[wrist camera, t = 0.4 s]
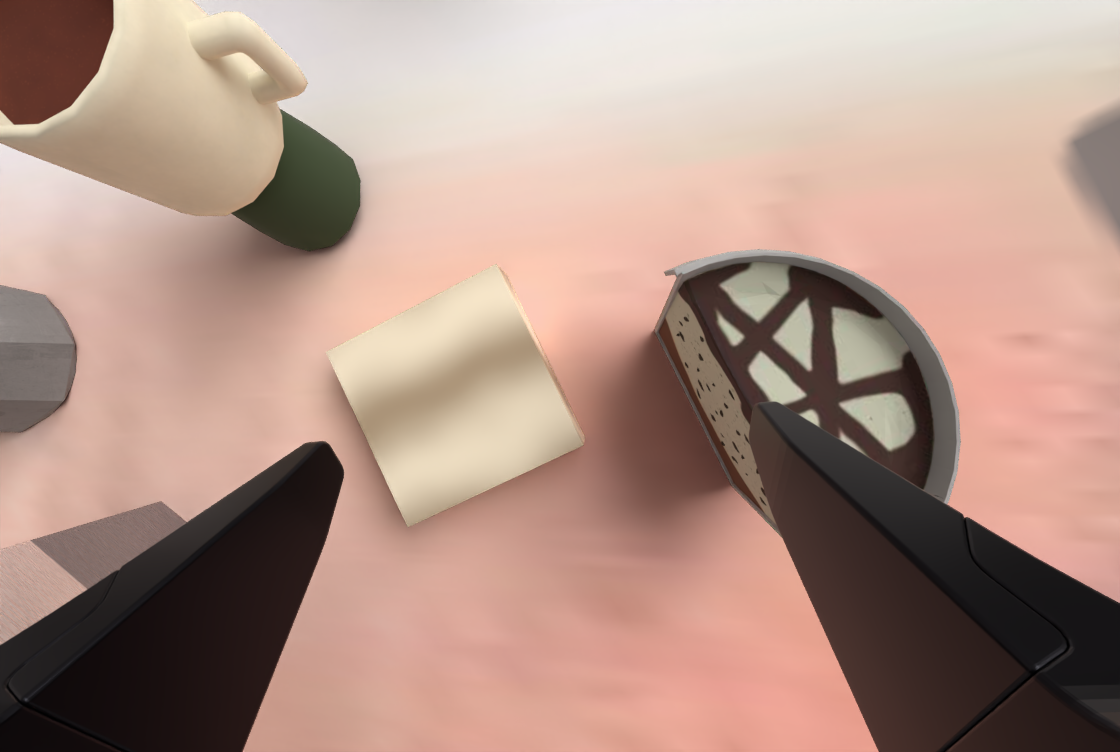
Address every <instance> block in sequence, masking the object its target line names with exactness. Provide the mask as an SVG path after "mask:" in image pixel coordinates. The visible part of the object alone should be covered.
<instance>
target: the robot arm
mask: <svg viewBox="0 0 1120 752" xmlns="http://www.w3.org/2000/svg"><path fill="white" fill-rule="evenodd" d="M749 443H750V447H751V450H752V453H753V456H754V460H755V463H756V466H757V469H758V472H759V475H760V479H761V482H762V485H763V488H764V491H765V494H766V498H767V501H768V504H769V507H770V510H771V513H772V515H773V517H774V520H775V522H776V525H777V527H778V529H779V531H780V534H781V536H782V538H783V540H784V542H785V545H786V547H787V549H788V551H789V554H790V556H791V558H792V560H793V562H794V565H795V567H796V569H797V571H798V574H799V576H800V578H801V580H802V582H803V585H804V587H805V589H806V591H807V593H808V596H809V598H810V600H811V602H812V605H813V607H814V609H815V611H816V613H817V616H818V618H819V620H820V622H821V625H822V627H823V629H824V631H825V633H826V636H827V638H828V640H829V642H830V645H831V647H832V649H833V651H834V653H835V656H836V658H837V660H838V662H839V665H840V667H841V669H842V671H843V673H844V676H845V678H846V680H847V682H848V684H849V687H850V689H851V691H852V693H853V696H854V698H855V700H856V702H857V704H858V707H859V709H860V711H861V713H862V716H863V718H864V720H865V722H866V724H867V727H868V729H869V731H870V733H871V736H872V738H873V740H874V742H875V744H876V747H877V749H878V751H879V752H1120V603H1118V602H1116V601H1115V600H1113V599H1111V598H1109V597H1107V596H1105V595H1103V594H1101V593H1100V592H1098V591H1096V590H1094V589H1092V588H1090V587H1088V586H1087V585H1085V584H1083V583H1081V582H1079V581H1078V580H1076V579H1074V578H1072V577H1070V576H1068V575H1067V574H1065V573H1063V572H1061V571H1059V570H1058V569H1056V568H1054V567H1052V566H1050V565H1049V564H1047V563H1045V562H1043V561H1041V560H1039V559H1038V558H1036V557H1034V556H1033V555H1031V554H1029V553H1027V552H1026V551H1024V550H1022V549H1021V548H1019V547H1017V546H1016V545H1014V544H1012V543H1010V542H1009V541H1007V540H1005V539H1004V538H1002V537H1000V536H998V535H997V534H995V533H993V532H992V531H990V530H989V529H987V528H985V527H984V526H982V525H980V524H979V523H977V522H975V521H974V520H972V519H970V518H968V517H966V518H964V516H963V514H962V513H960V512H959V511H957V510H955V509H954V508H952V507H950V506H949V505H947V504H945V503H944V502H942V501H940V500H939V499H937V498H936V497H934V496H932V495H931V494H929V493H927V492H926V491H924V490H922V489H921V488H919V487H917V486H916V485H914V484H912V483H911V482H909V481H908V480H906V479H904V478H903V477H901V476H899V475H898V474H896V473H894V472H893V471H891V470H889V469H888V468H886V467H884V466H883V465H881V464H880V463H878V462H876V461H875V460H873V459H871V458H870V457H868V456H866V455H865V454H863V453H861V452H860V451H858V450H856V449H855V448H853V447H852V446H850V445H848V444H847V443H845V442H843V441H842V440H840V439H838V438H837V437H835V436H833V435H832V434H830V433H828V432H827V431H825V430H824V429H822V428H820V427H819V426H817V425H815V424H814V423H812V422H810V421H809V420H807V419H805V418H804V417H802V416H800V415H799V414H797V413H796V412H794V411H792V410H791V409H789V408H787V407H786V406H784V405H782V404H781V403H779V402H776V401H772V402H760V403H756V404H755V405H754V407H753V410H752V417H751V423H750V429H749ZM343 478H344V469H343V466H342V464H341V463H340V461H339V459H338V458H337V456H336V454H335V453H334V451H333V449H332V448H331V446H330V445H329V444H328V443H327V442H324V441H318V442H308V443H305V444H303V445H302V446H300V447H299V448H297V449H296V450H294V451H293V452H291V453H290V454H288V455H287V456H285V457H284V458H282V459H281V460H279V461H278V462H276V463H275V464H273V465H272V466H270V467H269V468H267V469H266V470H264V471H263V472H261V473H260V474H258V475H257V476H255V477H254V478H253V479H251V480H250V481H248V482H247V483H245V484H244V485H242V486H241V487H239V488H238V489H236V490H235V491H233V492H232V493H230V494H229V495H227V496H226V497H224V498H223V499H221V500H220V501H218V502H217V503H215V504H214V505H212V506H211V507H209V508H208V509H206V510H205V511H203V512H202V513H200V514H199V515H197V516H196V517H194V518H193V519H191V520H190V521H188V522H187V523H185V524H184V525H182V526H181V527H180V528H178V529H177V530H175V531H174V532H172V533H171V534H169V535H168V536H166V537H165V538H163V539H162V540H160V541H159V542H157V543H156V544H154V545H153V546H151V547H150V548H148V549H147V550H145V551H144V552H142V553H141V554H139V555H138V556H136V557H135V558H133V559H132V560H130V561H129V562H127V563H126V564H124V565H123V566H122V567H121V568H120V570H115V571H114V572H112V573H111V574H109V575H108V576H106V577H105V578H103V579H102V580H100V581H99V582H97V583H96V584H94V585H93V586H91V587H90V588H88V589H87V590H85V591H84V592H82V593H81V594H79V595H78V596H76V597H75V598H73V599H72V600H70V601H69V602H67V603H66V604H64V605H63V606H61V607H59V608H58V609H56V610H55V611H53V612H52V613H50V614H49V615H47V616H45V617H44V618H42V619H41V620H39V621H37V622H36V623H34V624H33V625H31V626H30V627H28V628H26V629H25V630H23V631H22V632H20V633H18V634H17V635H15V636H14V637H12V638H10V639H9V640H7V641H6V642H4V643H2V644H1V645H0V752H243V749H244V747H245V744H246V742H247V739H248V737H249V734H250V732H251V729H252V727H253V724H254V722H255V719H256V716H257V714H258V711H259V709H260V706H261V704H262V701H263V699H264V696H265V694H266V691H267V689H268V686H269V684H270V681H271V679H272V676H273V674H274V671H275V668H276V666H277V663H278V661H279V658H280V656H281V653H282V651H283V648H284V646H285V643H286V641H287V638H288V636H289V633H290V631H291V628H292V626H293V623H294V620H295V618H296V615H297V613H298V610H299V608H300V605H301V603H302V600H303V598H304V595H305V593H306V590H307V588H308V585H309V583H310V580H311V577H312V575H313V572H314V570H315V567H316V565H317V562H318V560H319V557H320V555H321V552H322V549H323V547H324V544H325V541H326V538H327V535H328V532H329V528H330V524H331V521H332V517H333V514H334V510H335V507H336V503H337V500H338V496H339V493H340V489H341V485H342V482H343Z"/></svg>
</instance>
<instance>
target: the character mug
mask: <svg viewBox="0 0 1120 752" xmlns="http://www.w3.org/2000/svg"><path fill="white" fill-rule="evenodd" d="M259 66H260V67H261V68H262V69H263V70H262V69H261V68H260V67H259ZM307 84H308V83H307V81H306V79H305V77H304V75H303V73H302V71H301V70H300V69H299V67H298V66H297V64H296V63H295V62H294V61H293V60H292V59H291V58H290V57H289V56H288V55H287V54H286V53H285V52H284V51H283V50H282V49H281V48H280V47H279V46H278V45H277V44H276V43H275V42H274V41H273V40H272V39H271V38H270V37H269V36H268V35H267V34H266V33H265V32H264V31H263V30H262V29H261V28H260V27H259V26H258V25H257V24H256V23H255V22H254V21H253V20H251V19H250V18H248V17H247V16H245V15H244V14H242V13H241V12H221V13H218V14H214V15H211V16H209V15H208V14H206V13H205V12H204V11H203V10H202V9H201V8H200V7H199V6H198V5H197V4H196V3H195V2H194V1H193V0H0V143H2V144H4V145H6V146H9V147H11V148H13V149H16V150H18V151H21V152H23V153H26V154H28V155H31V156H34V157H36V158H39V159H42V160H44V161H47V162H50V163H52V164H55V165H57V166H60V167H63V168H65V169H68V170H71V171H73V172H76V173H79V174H81V175H84V176H86V177H89V178H92V179H94V180H97V181H100V182H102V183H105V184H108V185H110V186H113V187H115V188H118V189H121V190H123V191H126V192H129V193H131V194H134V195H137V196H139V197H142V198H145V199H147V200H150V201H152V202H155V203H158V204H160V205H163V206H166V207H168V208H171V209H174V210H176V211H179V212H181V213H185V214H190V215H195V216H226V215H228V214H230V213H231V214H233V215H235V216H236V217H238V218H239V219H241V220H243V221H244V222H246V223H248V224H249V225H251V226H252V227H254V228H256V229H257V230H259V231H261V232H262V233H264V234H266V235H268V236H270V237H272V238H273V239H275V240H277V241H279V242H281V243H283V244H284V245H288V246H291V247H295V248H299V249H303V250H307V251H312V250H316V249H321V248H325V247H329V246H333V245H334V244H335V243H336V242H337V241H338V240H339V239H340V238H341V237H342V236H343V235H345V234H346V233H347V232H348V231H349V230H350V228H351V226H352V223H353V221H354V219H355V216H356V214H357V211H358V209H359V206H360V178H359V175H358V172H357V169H356V166H355V164H354V161H353V159H352V158H351V157H349V156H348V155H347V154H346V153H345V152H344V151H342V150H341V149H340V148H339V147H338V146H336V145H335V144H334V143H332V142H331V141H330V140H328V139H327V138H325V137H324V136H322V135H321V134H320V133H318V132H317V131H315V130H314V129H312V128H311V127H309V126H308V125H306V124H304V123H303V122H301V121H299V120H298V119H296V118H294V117H293V116H291V115H289V114H288V113H286V112H284V111H283V110H281V109H279V107H278V104H277V101H280V100H284V99H288V98H291V97H295V96H298V95H299V94H301V93H302V92H303V91H304V90H305V88H306V86H307Z"/></svg>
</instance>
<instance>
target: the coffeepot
mask: <svg viewBox="0 0 1120 752" xmlns="http://www.w3.org/2000/svg"><path fill="white" fill-rule="evenodd" d="M75 370H76V348H75V343H74V339H73V335H72V332H71V330H70V328H69V326H68V323H67V321H66V320H65V318H64V317H63V315H62V314H61V313H60V311H59V310H58V309H57V308H56V307H55V306H54V305H53V304H52V303H51V302H50V301H49V300H48V299H47V297H46V296H45V295H43V294H38V293H34V292H30V291H26V290H20V289H16V288H11V287H7V286H2V285H0V432H22V431H24V430H26V429H28V428H29V427H31V426H33V425H34V424H36V423H38V422H40V421H41V420H43V419H45V418H46V417H48V416H50V415H51V414H52V413H53V412H54V411H55V410H56V409H57V408H59V406H60V405H61V403H62V402H63V401H64V400H65V398H66V396H67V394H68V392H69V390H70V388H71V386H72V383H73V379H74V375H75Z"/></svg>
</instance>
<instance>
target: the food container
mask: <svg viewBox="0 0 1120 752" xmlns="http://www.w3.org/2000/svg"><path fill="white" fill-rule="evenodd" d="M664 273H665V275H666V276H668V275H676V277H677V278H676V281H675V283H674V285H673V288H672V290H671V292H670V295H669V297H668V299H667V301H666V304H665V306H664V308H663V311H662V313H661V315H660V318H659V320H658V322H657V324H656V327H655V329H654V331H655V333H656V335H657V337H658V339H659V341H660V343H661V345H662V347H663V349H664V351H665V353H666V355H667V357H668V359H669V361H670V363H671V365H672V367H673V369H674V371H675V373H676V375H677V377H678V379H679V381H680V383H681V385H682V387H683V389H684V391H685V393H686V395H687V397H688V399H689V402H690V404H691V406H692V408H693V410H694V412H695V414H696V416H697V418H698V420H699V422H700V424H701V426H702V428H703V430H704V432H705V434H706V436H707V438H708V440H709V442H710V444H711V446H712V448H713V450H714V452H715V454H716V456H717V458H718V460H719V462H720V464H721V466H722V468H723V470H724V472H725V474H726V476H727V478H728V480H729V482H730V484H731V486H732V487H733V488H734V489H735V490H736V491H737V492H738V493H739V494H740V495H741V496H742V497H743V498H744V499H745V500H746V501H747V502H748V503H749V504H750V505H751V506H752V507H753V508H754V509H755V510H756V511H757V513H758V514H759V515H760V516H761V517H762V518H763V519H764V520H765V521H766V522H767V523H768V524H769V525H770V526H771V527H772V528H773V529H774V530H775V531H776V532H777V533H778V534H779V535H780V536H781V534H780V531H779V529H778V527H777V525H776V522H775V520H774V517H773V515H772V513H771V510H770V507H769V504H768V501H767V498H766V494H765V491H764V488H763V485H762V482H761V479H760V475H759V472H758V469H757V466H756V463H755V460H754V456H753V453H752V450H751V447H750V443H749V429H750V423H751V417H752V410H753V407H754V405H755V404H756V403H760V402H772V401H776V402H779V403H781V404H782V405H784V406H786V407H787V408H789V409H791V410H792V411H794V412H796V413H797V414H799V415H800V416H802V417H804V418H805V419H807V420H809V421H810V422H812V423H814V424H815V425H817V426H819V427H820V428H822V429H824V430H825V431H827V432H828V433H830V434H832V435H833V436H835V437H837V438H838V439H840V440H842V441H843V442H845V443H847V444H848V445H850V446H852V447H853V448H855V449H856V450H858V451H860V452H861V453H863V454H865V455H866V456H868V457H870V458H871V459H873V460H875V461H876V462H878V463H880V464H881V465H883V466H884V467H886V468H888V469H889V470H891V471H893V472H894V473H896V474H898V475H899V476H901V477H903V478H904V479H906V480H908V481H909V482H911V483H912V484H914V485H916V486H917V487H919V488H921V489H922V490H924V491H926V492H927V493H929V494H931V495H932V496H934V497H936V498H937V499H939V500H940V501H942V502H944V503H945V504H948V501H949V499H950V495H951V492H952V488H953V485H954V481H955V478H956V474H957V470H958V461H959V452H960V443H961V441H960V424H959V411H958V407H957V402H956V398H955V394H954V389H953V385H952V382H951V379H950V377H949V375H948V372H947V370H946V367H945V365H944V363H943V360H942V358H941V355H940V354H939V352H938V351H937V349H936V347H935V346H934V344H933V343H932V341H931V339H930V338H929V336H928V335H927V333H926V331H925V330H924V329H923V327H922V326H921V325H920V324H919V323H918V322H917V321H916V320H915V318H914V317H913V316H912V315H911V314H910V313H909V312H908V311H907V309H906V308H905V307H904V306H903V305H901V304H900V303H899V302H898V301H897V300H895V299H894V298H893V297H892V296H890V295H889V294H888V293H887V292H885V291H884V290H883V289H882V288H881V287H879V286H877V285H876V284H874V283H872V282H870V281H869V280H867V279H865V278H863V277H862V276H860V275H858V274H857V273H855V272H853V271H850V270H848V269H846V268H843V267H841V266H838V265H835V264H833V263H830V262H828V261H825V260H823V259H820V258H817V257H812V256H808V255H803V254H799V253H794V252H790V251H775V250H760V249H758V250H746V251H735V252H727V253H723V254H719V255H714V256H710V257H706V258H702V259H698V260H694V261H690V262H687V263H684V264H682V265H679V266H677V267H675V268H672V269H670V270H667V271H665V272H664ZM781 537H782V536H781Z"/></svg>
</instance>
